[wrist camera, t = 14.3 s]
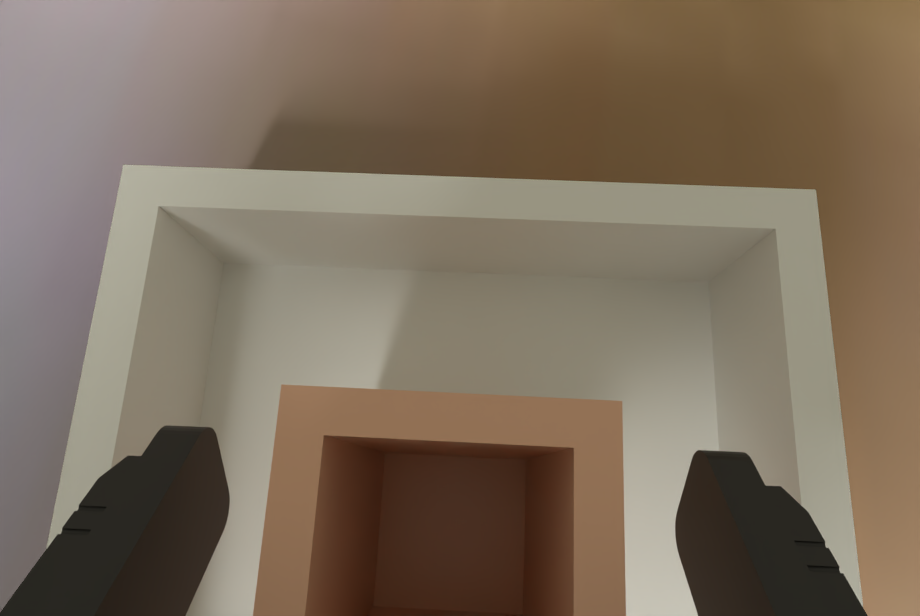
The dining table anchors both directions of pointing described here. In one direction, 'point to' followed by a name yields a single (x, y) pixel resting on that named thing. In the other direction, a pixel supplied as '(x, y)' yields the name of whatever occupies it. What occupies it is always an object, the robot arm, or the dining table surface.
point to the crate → (467, 332)
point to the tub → (443, 505)
